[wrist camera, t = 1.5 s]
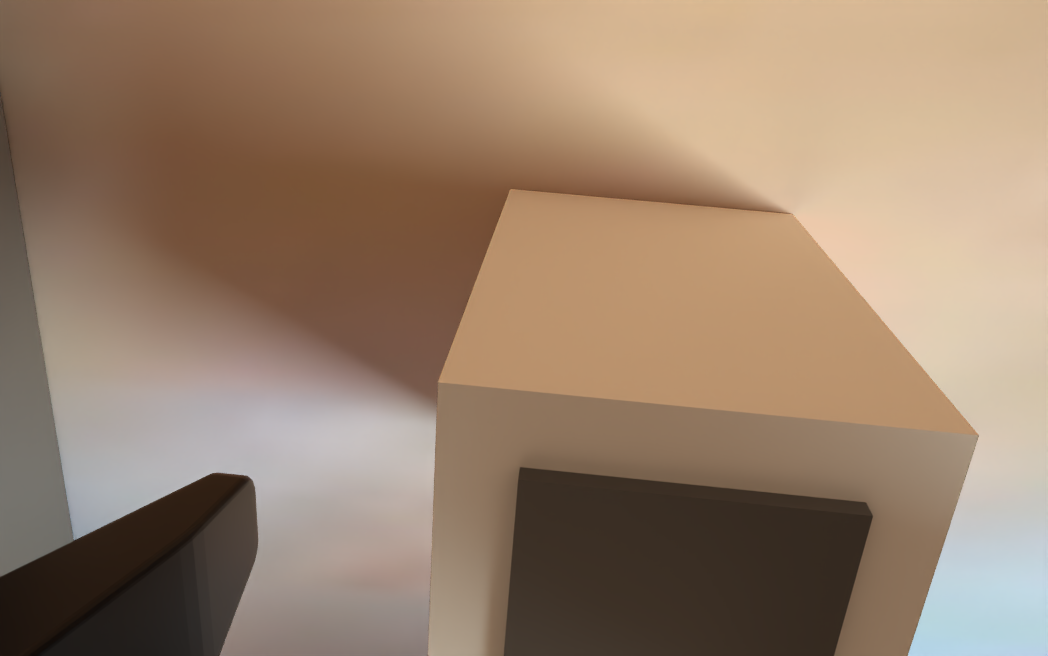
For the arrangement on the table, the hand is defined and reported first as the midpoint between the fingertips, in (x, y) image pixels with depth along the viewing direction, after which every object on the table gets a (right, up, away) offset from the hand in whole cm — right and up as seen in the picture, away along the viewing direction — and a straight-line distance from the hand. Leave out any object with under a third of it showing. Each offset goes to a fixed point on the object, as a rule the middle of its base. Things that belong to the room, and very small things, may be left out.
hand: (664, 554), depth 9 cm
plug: (0, +2, +5) cm, 6 cm away
